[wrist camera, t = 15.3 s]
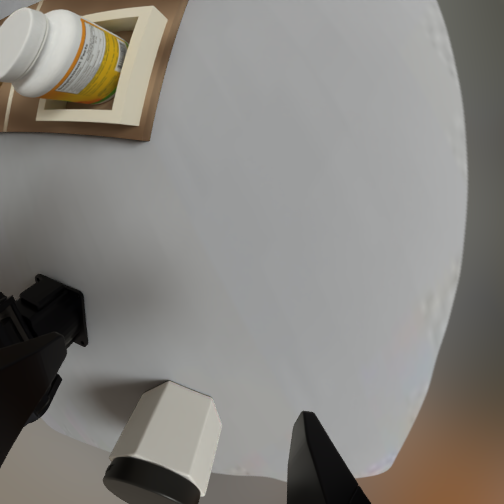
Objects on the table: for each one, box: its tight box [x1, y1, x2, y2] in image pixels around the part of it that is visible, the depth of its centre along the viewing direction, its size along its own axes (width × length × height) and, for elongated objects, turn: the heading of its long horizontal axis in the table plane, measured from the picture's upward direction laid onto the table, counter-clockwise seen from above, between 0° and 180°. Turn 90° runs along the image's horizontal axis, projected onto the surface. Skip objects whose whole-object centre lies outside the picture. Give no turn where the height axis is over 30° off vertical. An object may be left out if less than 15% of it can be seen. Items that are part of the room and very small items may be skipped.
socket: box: [36, 6, 168, 126], centre depth 14 cm, size 8×8×2 cm
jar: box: [103, 381, 222, 504], centre depth 21 cm, size 9×8×12 cm
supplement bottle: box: [0, 8, 129, 105], centre depth 11 cm, size 5×5×10 cm
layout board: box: [0, 0, 188, 141], centre depth 16 cm, size 14×33×1 cm, turn 77°
